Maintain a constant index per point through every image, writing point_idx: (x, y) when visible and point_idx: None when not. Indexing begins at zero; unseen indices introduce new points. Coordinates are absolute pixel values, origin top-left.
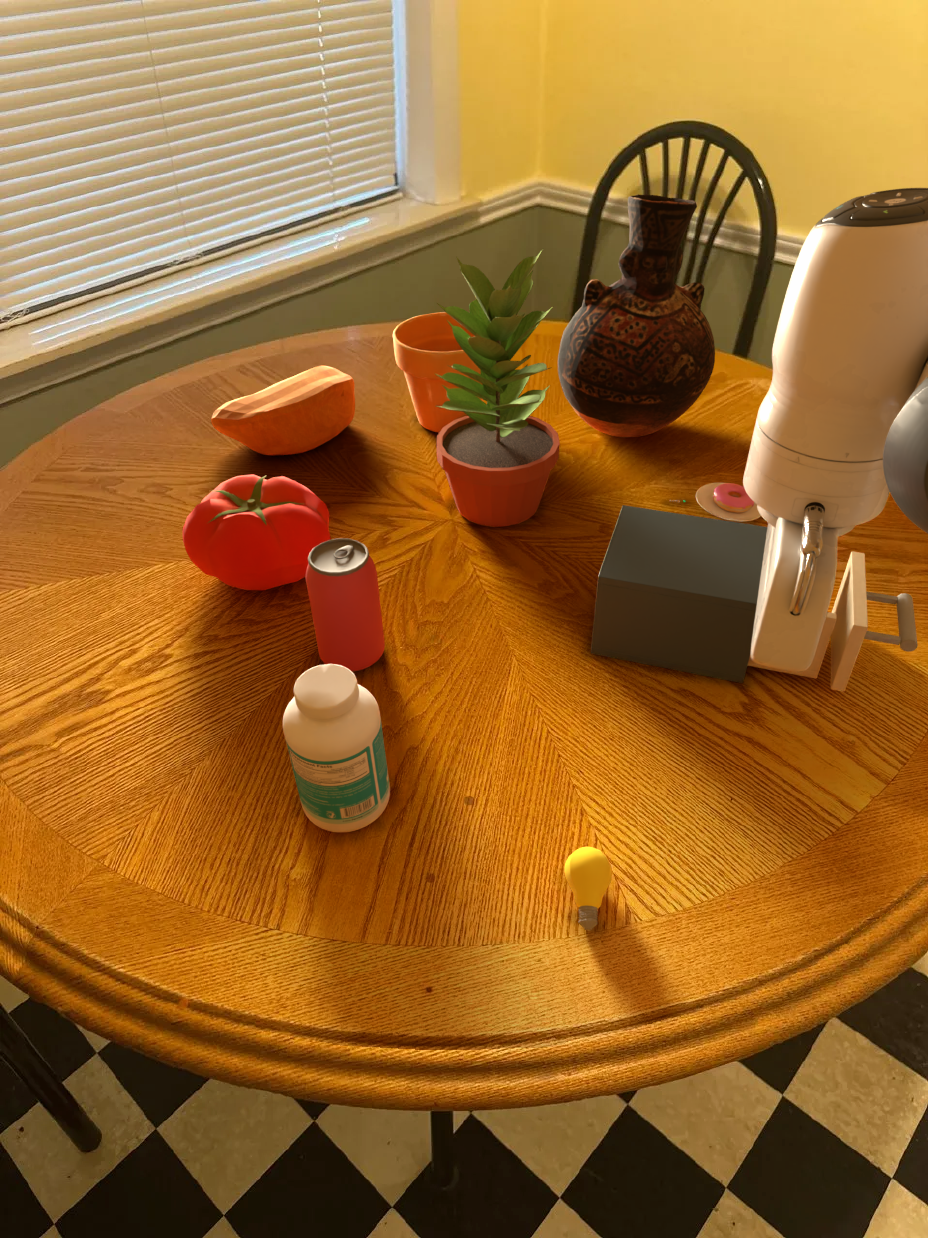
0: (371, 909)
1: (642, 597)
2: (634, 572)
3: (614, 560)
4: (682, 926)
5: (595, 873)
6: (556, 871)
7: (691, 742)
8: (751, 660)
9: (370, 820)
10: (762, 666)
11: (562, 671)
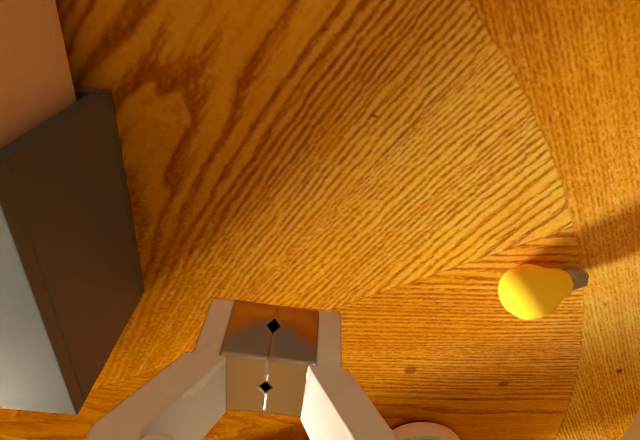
0: (534, 411)
1: (75, 339)
2: (33, 376)
3: (18, 399)
4: (585, 179)
5: (555, 301)
6: (499, 299)
7: (273, 169)
8: (66, 91)
9: (451, 433)
10: (66, 66)
11: (191, 315)
